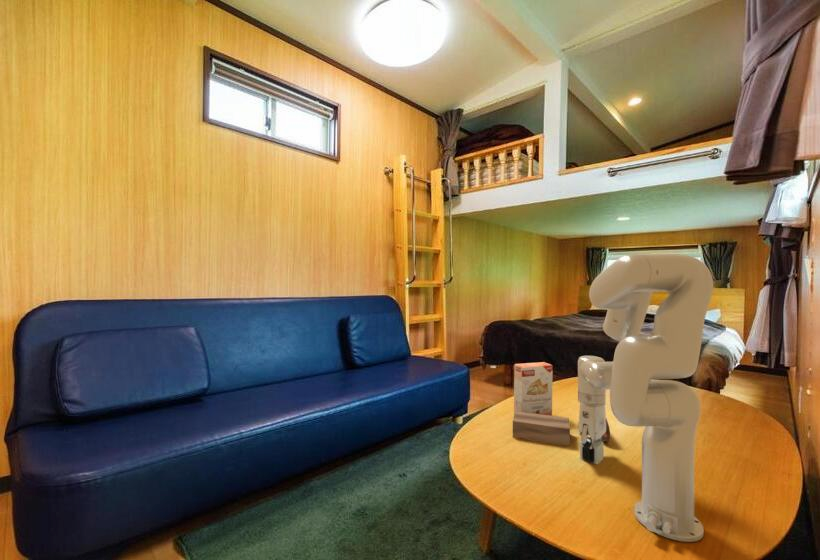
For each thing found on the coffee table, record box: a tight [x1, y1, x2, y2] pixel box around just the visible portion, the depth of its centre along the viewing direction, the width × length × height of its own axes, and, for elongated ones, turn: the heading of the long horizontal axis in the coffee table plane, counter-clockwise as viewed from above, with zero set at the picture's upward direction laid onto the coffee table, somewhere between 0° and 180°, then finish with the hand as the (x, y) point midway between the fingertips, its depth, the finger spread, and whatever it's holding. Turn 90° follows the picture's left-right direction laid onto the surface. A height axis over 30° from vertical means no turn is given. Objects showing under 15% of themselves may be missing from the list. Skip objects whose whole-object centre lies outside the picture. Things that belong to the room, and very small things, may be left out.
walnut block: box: [512, 411, 571, 448], centre depth 123 cm, size 10×18×6 cm, turn 67°
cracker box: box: [513, 361, 554, 416], centre depth 140 cm, size 14×6×21 cm, turn 105°
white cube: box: [579, 439, 604, 465], centre depth 108 cm, size 5×5×5 cm
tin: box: [601, 418, 611, 443], centre depth 123 cm, size 15×3×8 cm, turn 168°
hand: (591, 456), depth 108 cm, fingers closed on white cube, 5 cm apart
